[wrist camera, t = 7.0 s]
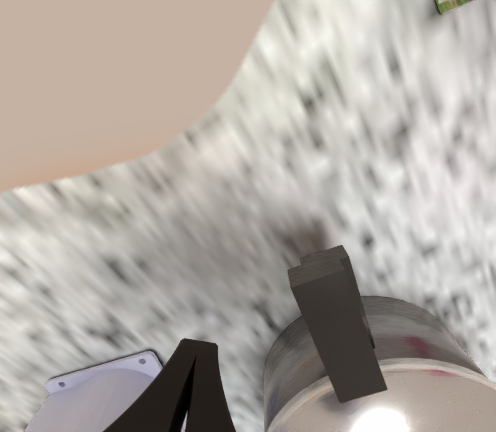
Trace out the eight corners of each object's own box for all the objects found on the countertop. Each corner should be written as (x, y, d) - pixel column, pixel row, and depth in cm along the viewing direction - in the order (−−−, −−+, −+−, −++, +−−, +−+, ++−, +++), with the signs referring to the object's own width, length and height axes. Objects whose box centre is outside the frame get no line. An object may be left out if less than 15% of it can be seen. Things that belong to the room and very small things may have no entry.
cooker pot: (305, 486, 30) (317, 576, 25) (204, 260, 23) (188, 313, 17) (477, 449, 28) (532, 537, 23) (425, 189, 21) (488, 222, 15)
